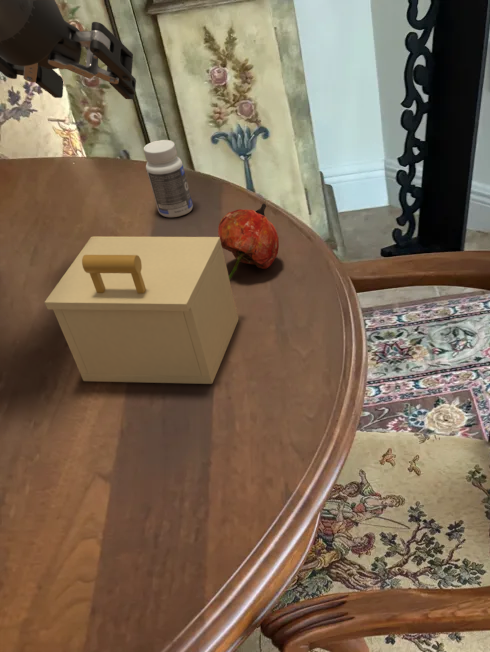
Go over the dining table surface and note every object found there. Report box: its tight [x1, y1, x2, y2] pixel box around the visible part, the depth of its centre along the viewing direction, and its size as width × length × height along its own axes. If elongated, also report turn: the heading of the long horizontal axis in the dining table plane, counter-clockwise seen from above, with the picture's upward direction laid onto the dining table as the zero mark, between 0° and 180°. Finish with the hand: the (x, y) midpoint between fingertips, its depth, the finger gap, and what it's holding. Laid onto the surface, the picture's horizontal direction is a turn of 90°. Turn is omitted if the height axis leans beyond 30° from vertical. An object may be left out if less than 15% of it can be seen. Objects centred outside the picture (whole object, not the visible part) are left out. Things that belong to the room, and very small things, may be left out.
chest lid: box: [44, 235, 221, 311], centre depth 76 cm, size 13×14×4 cm
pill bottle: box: [143, 139, 194, 218], centre depth 103 cm, size 5×5×8 cm
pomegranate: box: [217, 202, 280, 280], centre depth 93 cm, size 7×7×10 cm
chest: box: [52, 245, 240, 385], centre depth 81 cm, size 12×14×9 cm
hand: (95, 89), depth 86 cm, fingers open, 8 cm apart
